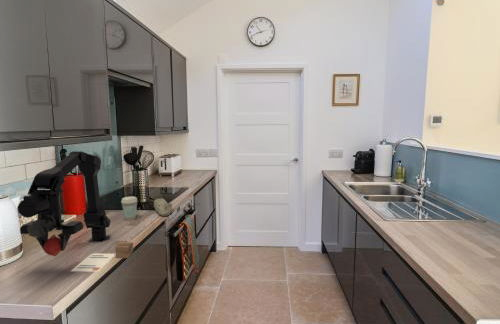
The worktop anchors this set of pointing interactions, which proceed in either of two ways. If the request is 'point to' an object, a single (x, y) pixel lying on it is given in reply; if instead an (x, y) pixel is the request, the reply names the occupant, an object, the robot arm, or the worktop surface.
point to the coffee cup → (129, 207)
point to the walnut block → (124, 249)
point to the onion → (52, 246)
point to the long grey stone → (162, 207)
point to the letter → (93, 262)
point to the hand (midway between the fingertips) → (54, 250)
